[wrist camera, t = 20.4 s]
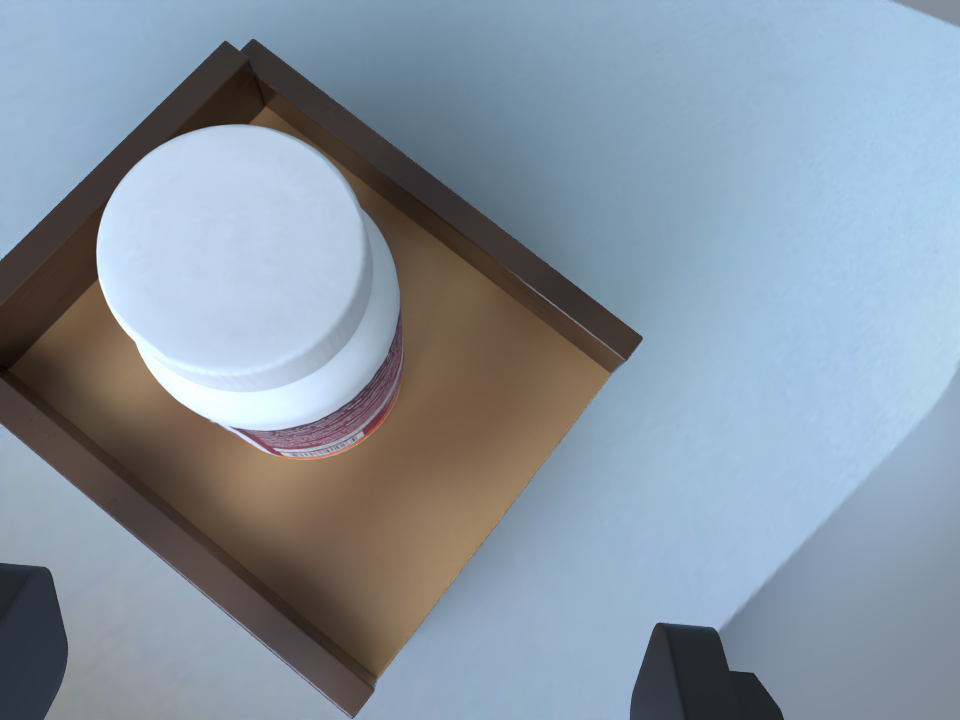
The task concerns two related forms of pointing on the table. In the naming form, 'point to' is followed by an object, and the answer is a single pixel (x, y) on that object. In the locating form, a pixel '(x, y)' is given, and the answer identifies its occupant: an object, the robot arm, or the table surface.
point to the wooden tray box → (326, 481)
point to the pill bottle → (256, 289)
